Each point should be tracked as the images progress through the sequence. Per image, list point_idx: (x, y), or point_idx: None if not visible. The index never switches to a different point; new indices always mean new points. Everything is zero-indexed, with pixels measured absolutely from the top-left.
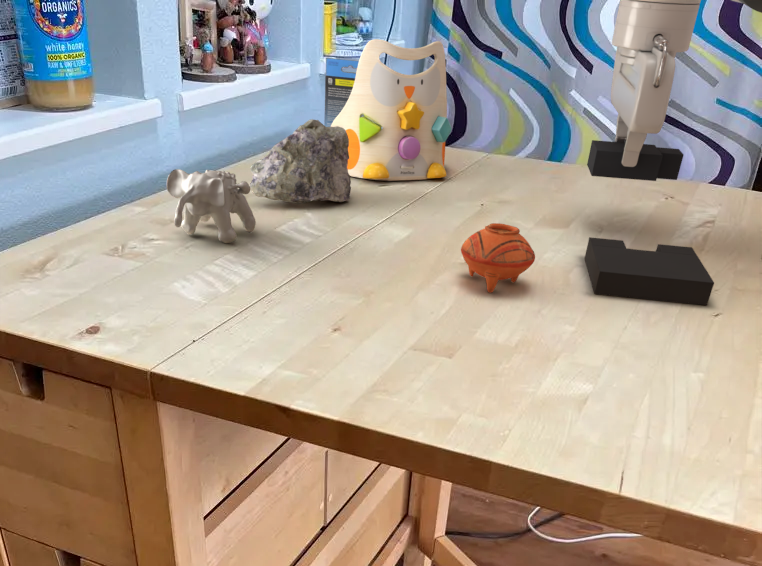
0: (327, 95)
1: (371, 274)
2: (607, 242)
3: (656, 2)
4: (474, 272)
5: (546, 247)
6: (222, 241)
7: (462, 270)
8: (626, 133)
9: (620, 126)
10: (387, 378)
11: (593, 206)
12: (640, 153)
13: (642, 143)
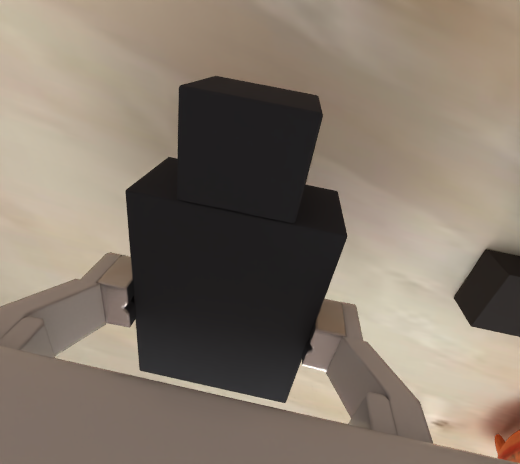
0: None
1: None
2: (514, 307)
3: None
4: (500, 438)
5: (385, 332)
6: None
7: (469, 435)
8: (86, 304)
9: (66, 340)
10: None
11: (99, 176)
12: (318, 308)
13: (395, 378)
